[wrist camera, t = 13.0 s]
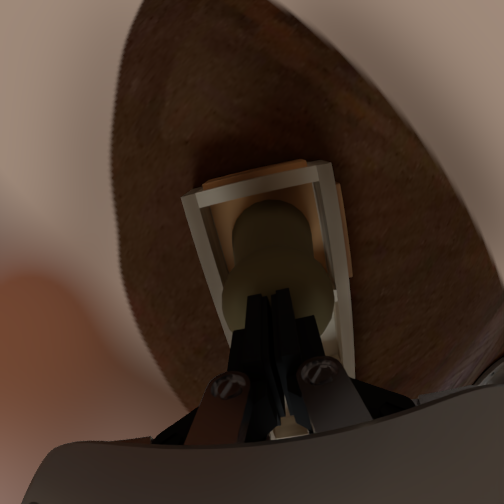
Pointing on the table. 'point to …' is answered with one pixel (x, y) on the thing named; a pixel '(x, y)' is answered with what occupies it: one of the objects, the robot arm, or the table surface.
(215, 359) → the table surface
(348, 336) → the spice rack
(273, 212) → the cork
